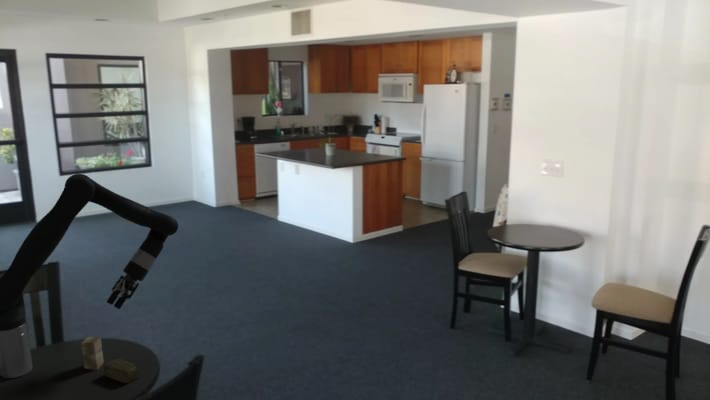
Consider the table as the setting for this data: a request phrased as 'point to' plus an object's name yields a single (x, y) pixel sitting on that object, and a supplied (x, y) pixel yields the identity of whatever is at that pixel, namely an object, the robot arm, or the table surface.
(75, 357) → the table surface
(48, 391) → the table surface
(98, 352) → the maple block
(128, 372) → the stone block
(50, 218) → the robot arm
